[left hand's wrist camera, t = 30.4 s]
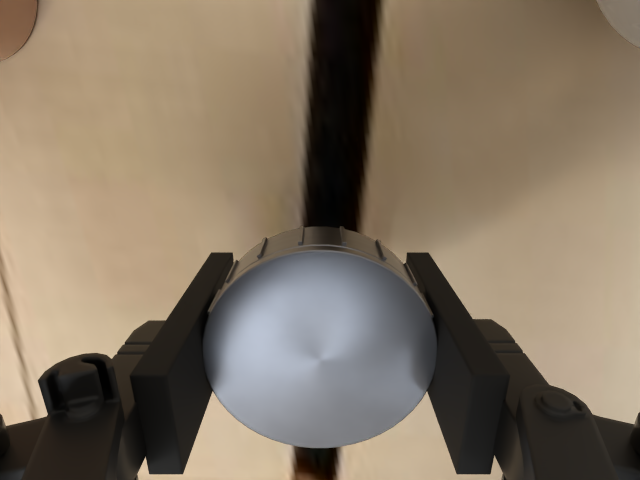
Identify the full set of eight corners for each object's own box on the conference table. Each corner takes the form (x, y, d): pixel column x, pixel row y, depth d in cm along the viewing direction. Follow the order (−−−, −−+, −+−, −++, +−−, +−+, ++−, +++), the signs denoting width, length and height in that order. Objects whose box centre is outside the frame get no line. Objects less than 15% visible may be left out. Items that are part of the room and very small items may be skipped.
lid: (450, 245, 11) (473, 272, 10) (393, 417, 14) (403, 464, 12) (228, 203, 11) (212, 224, 9) (206, 389, 13) (189, 433, 11)
